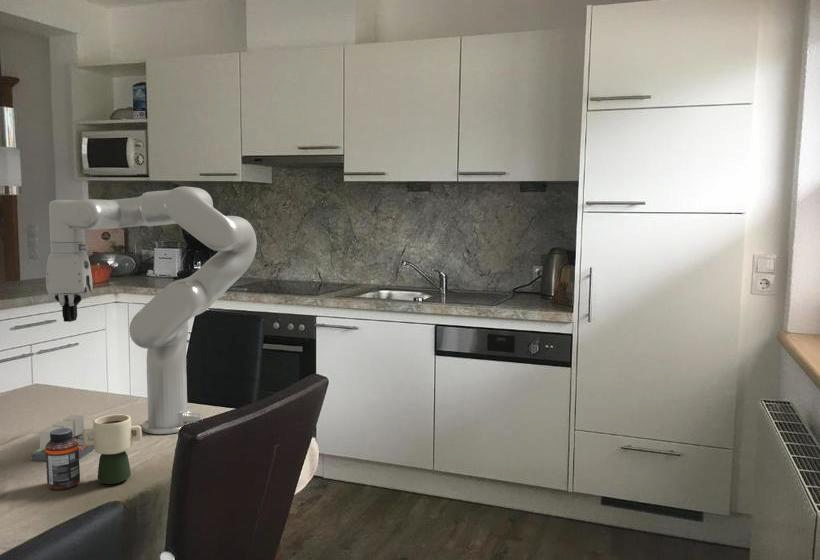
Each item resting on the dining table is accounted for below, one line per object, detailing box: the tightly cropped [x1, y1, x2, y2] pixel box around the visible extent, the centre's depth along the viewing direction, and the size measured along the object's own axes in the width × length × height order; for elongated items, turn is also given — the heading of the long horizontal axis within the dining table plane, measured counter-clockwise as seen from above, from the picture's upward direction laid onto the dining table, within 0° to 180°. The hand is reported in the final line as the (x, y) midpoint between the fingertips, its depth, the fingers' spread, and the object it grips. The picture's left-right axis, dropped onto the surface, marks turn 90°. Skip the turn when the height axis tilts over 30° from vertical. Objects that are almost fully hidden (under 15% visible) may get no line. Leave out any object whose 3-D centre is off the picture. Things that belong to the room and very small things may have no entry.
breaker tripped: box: [38, 426, 61, 449], centre depth 153 cm, size 3×3×4 cm
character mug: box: [83, 413, 143, 485], centre depth 138 cm, size 11×7×13 cm, turn 108°
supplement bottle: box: [45, 428, 81, 491], centre depth 136 cm, size 6×6×11 cm
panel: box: [30, 432, 95, 462], centre depth 158 cm, size 10×16×2 cm, turn 176°
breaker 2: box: [62, 414, 85, 436], centre depth 162 cm, size 3×3×4 cm
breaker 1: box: [51, 420, 73, 432], centre depth 158 cm, size 3×3×4 cm
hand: (70, 320), depth 173 cm, fingers closed
